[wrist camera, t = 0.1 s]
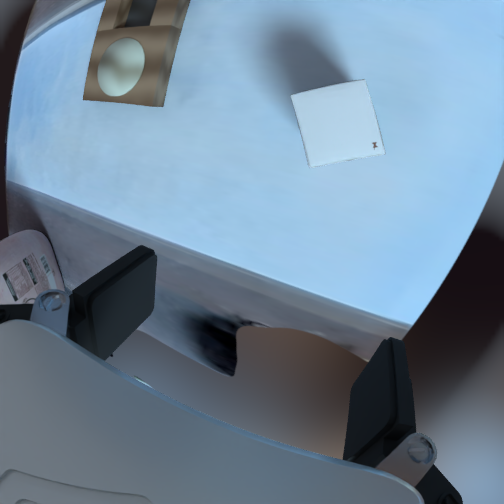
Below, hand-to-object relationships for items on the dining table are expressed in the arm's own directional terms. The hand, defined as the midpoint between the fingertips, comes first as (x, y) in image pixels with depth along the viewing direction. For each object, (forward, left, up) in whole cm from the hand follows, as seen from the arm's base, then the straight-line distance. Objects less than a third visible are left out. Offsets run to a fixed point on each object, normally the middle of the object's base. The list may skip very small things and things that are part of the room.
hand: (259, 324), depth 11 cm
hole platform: (-17, -34, -31) cm, 49 cm away
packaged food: (+35, -55, -31) cm, 72 cm away
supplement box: (-8, 0, -31) cm, 32 cm away
